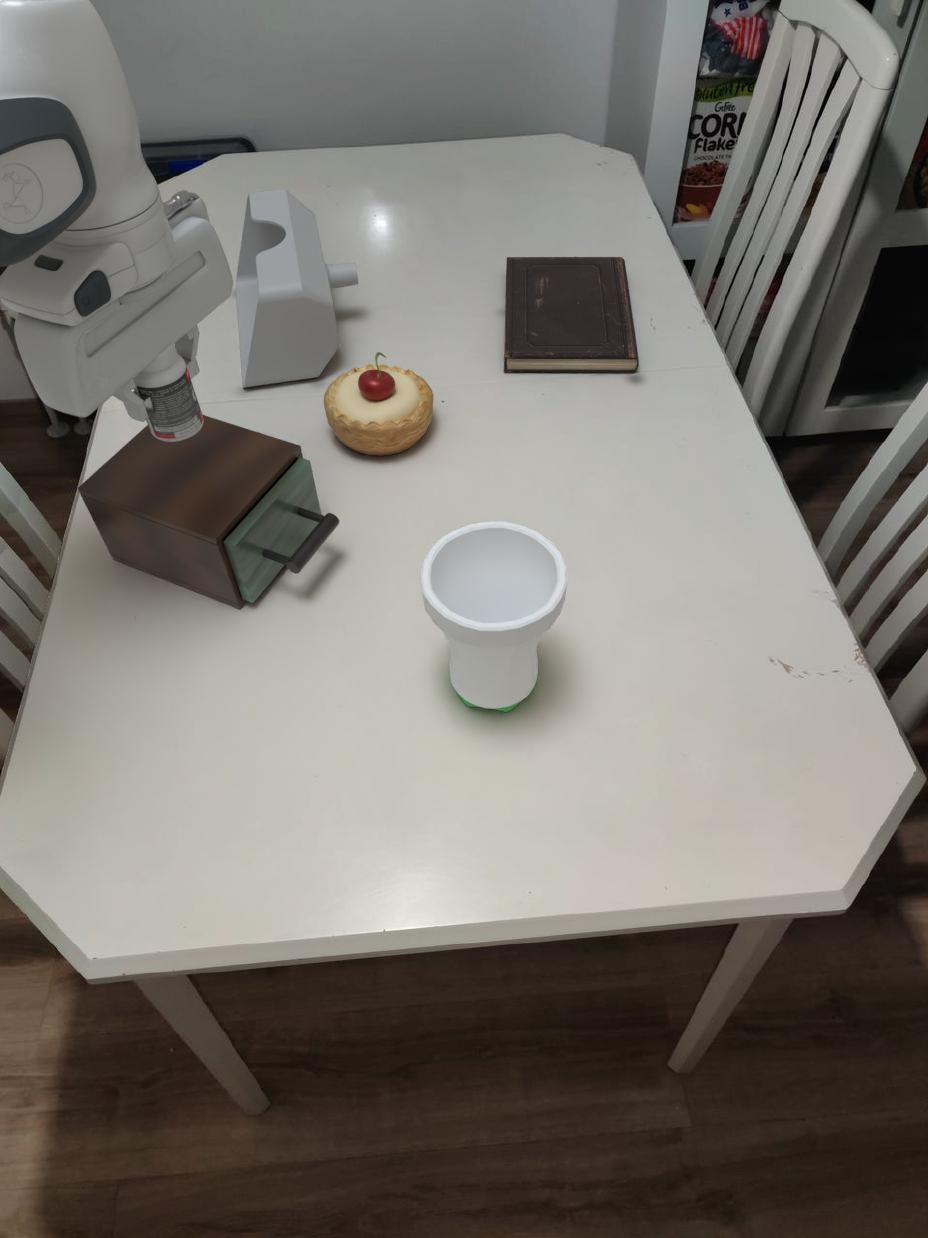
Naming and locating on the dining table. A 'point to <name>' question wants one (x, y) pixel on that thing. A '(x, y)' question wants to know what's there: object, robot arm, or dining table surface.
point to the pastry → (379, 408)
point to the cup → (493, 607)
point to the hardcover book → (568, 316)
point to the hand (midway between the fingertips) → (165, 395)
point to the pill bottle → (170, 397)
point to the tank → (285, 292)
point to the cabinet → (184, 501)
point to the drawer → (278, 531)
